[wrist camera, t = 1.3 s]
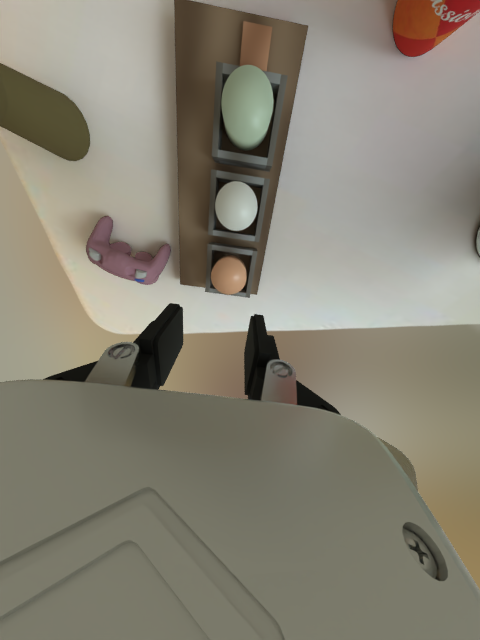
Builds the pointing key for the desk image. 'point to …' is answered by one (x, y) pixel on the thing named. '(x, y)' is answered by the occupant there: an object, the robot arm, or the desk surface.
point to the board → (212, 140)
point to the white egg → (236, 206)
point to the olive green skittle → (42, 115)
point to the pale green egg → (247, 106)
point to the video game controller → (124, 256)
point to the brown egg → (229, 275)
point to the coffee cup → (429, 22)
